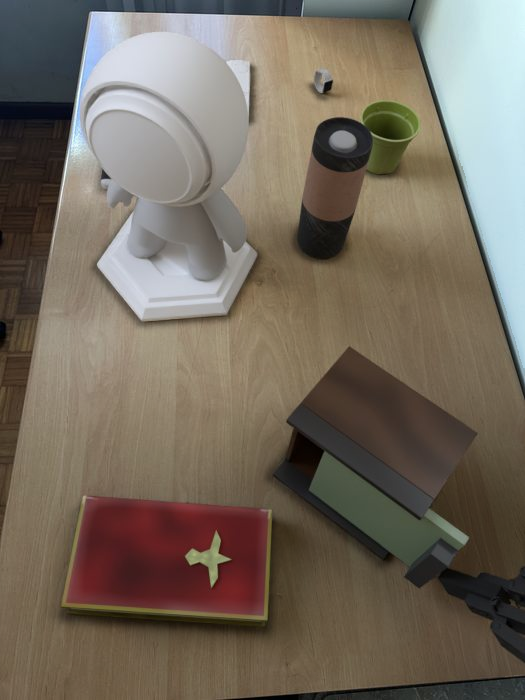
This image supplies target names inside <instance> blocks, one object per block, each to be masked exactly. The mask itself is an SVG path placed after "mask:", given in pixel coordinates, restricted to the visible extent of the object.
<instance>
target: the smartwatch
mask: <svg viewBox="0 0 525 700" xmlns="http://www.w3.org/2000/svg"><path fill="white" fill-rule="evenodd" d="M322 78H323V79H324V80H323V82H321V81H322ZM313 84H314V87H315V89H316V90H317V92H318V93H320V94H324V93H328V92H330V91H331V90H332V88H333V84H334V79H333V77H332V75H331V74H330V71H328V69H326V68H319V69H316V71H315V72H314V74H313Z"/></svg>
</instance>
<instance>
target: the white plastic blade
mask: <svg viewBox="0 0 525 700" xmlns="http://www.w3.org/2000/svg"><path fill="white" fill-rule="evenodd" d="M225 62H226V63H227V64H228V65H229V67H230V68H231V70H232V71H233V72H234V74H235V76H236V77H237V79H238V81H239V83H240V85H241V88H242V90H243V93H244V96H245V100H246V104H247V109H248V118H249V119H250V94H251V93H250V92H251V90H250V89H251V61H250V60H240V59H230V60H226V61H225Z"/></svg>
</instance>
